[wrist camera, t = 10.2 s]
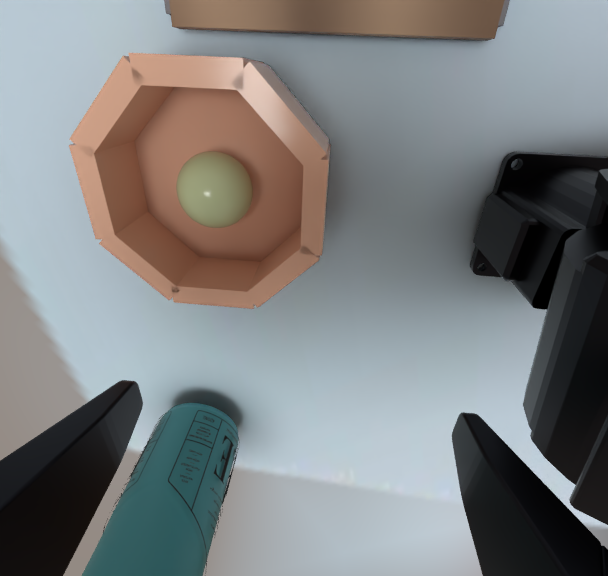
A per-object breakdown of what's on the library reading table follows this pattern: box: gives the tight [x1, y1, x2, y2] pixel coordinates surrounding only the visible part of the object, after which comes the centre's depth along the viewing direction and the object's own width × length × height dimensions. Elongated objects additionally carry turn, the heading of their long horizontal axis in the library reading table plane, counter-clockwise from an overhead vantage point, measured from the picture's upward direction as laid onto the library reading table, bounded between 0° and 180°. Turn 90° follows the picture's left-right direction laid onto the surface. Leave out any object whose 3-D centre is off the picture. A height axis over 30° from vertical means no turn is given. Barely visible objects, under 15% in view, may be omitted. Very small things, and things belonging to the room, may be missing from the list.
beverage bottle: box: [82, 403, 239, 576], centre depth 20 cm, size 6×7×20 cm
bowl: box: [69, 53, 331, 309], centre depth 17 cm, size 11×11×4 cm
